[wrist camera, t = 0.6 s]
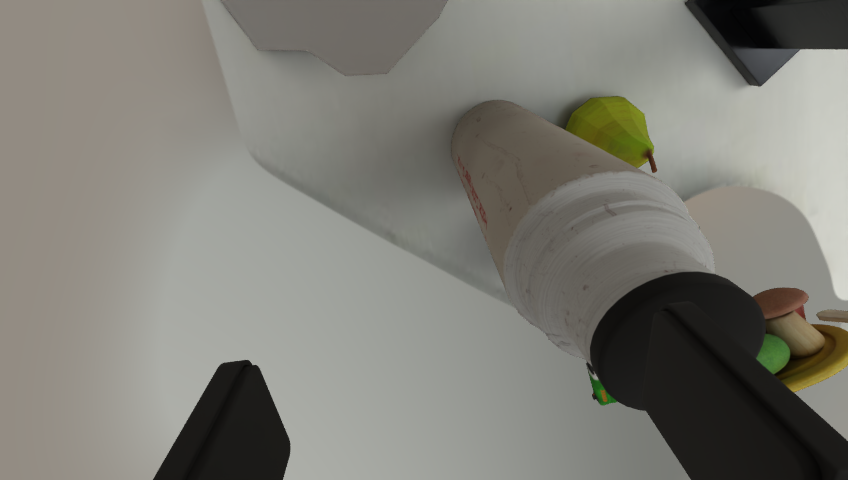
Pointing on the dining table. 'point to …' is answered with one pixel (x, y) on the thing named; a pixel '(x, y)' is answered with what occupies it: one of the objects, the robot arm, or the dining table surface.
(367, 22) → the decorative object
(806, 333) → the toy food set
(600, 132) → the fruit
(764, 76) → the bracket
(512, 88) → the dining table surface
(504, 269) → the thermos bottle
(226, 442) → the robot arm
